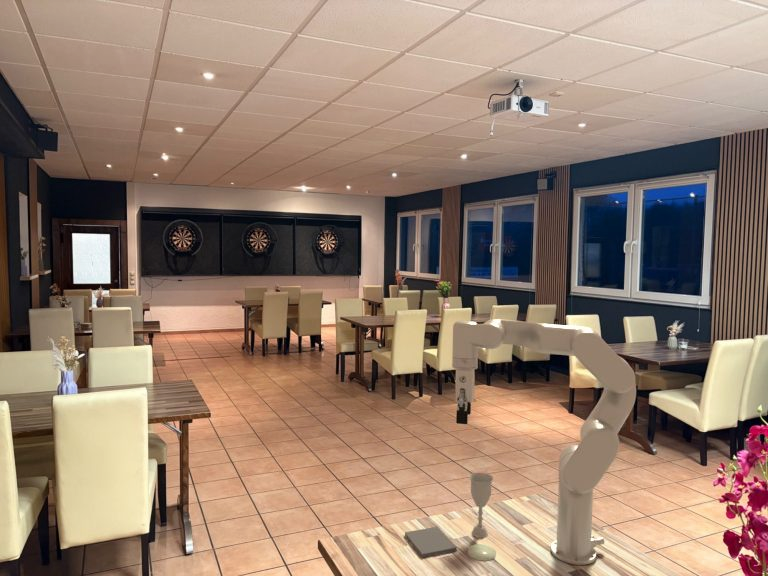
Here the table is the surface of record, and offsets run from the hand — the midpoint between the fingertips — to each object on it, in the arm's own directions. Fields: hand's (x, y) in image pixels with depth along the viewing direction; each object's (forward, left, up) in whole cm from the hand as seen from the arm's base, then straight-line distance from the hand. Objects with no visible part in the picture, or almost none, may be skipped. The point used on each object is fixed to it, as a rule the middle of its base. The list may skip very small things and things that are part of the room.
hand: (463, 418), depth 171 cm
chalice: (-7, -1, -38) cm, 38 cm away
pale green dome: (-2, +9, -38) cm, 39 cm away
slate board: (+10, -1, -37) cm, 39 cm away
